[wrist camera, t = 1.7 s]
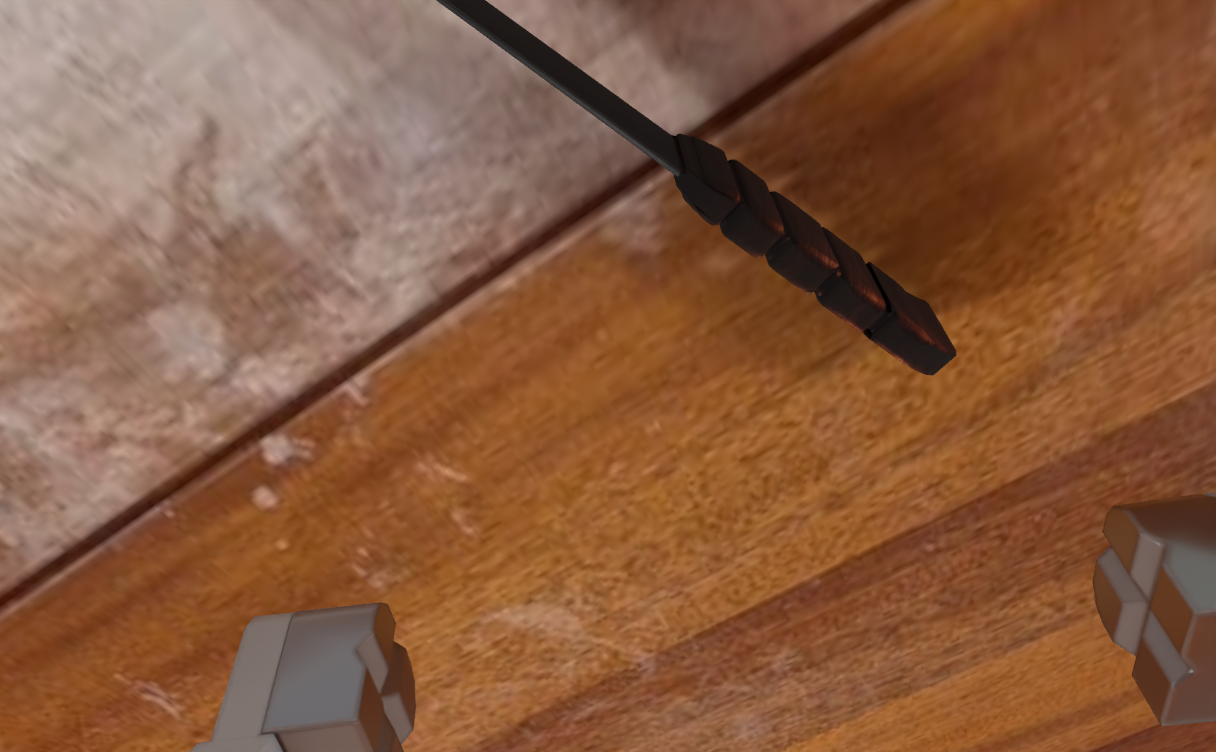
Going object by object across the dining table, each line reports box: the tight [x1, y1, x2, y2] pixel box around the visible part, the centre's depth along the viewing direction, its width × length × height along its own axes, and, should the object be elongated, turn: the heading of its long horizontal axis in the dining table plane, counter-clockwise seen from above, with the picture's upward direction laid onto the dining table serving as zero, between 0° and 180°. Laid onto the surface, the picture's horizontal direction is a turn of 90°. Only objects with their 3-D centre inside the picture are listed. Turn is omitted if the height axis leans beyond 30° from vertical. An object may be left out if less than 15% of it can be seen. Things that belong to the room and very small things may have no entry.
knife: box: [437, 0, 956, 375], centre depth 21 cm, size 17×1×3 cm, turn 52°
